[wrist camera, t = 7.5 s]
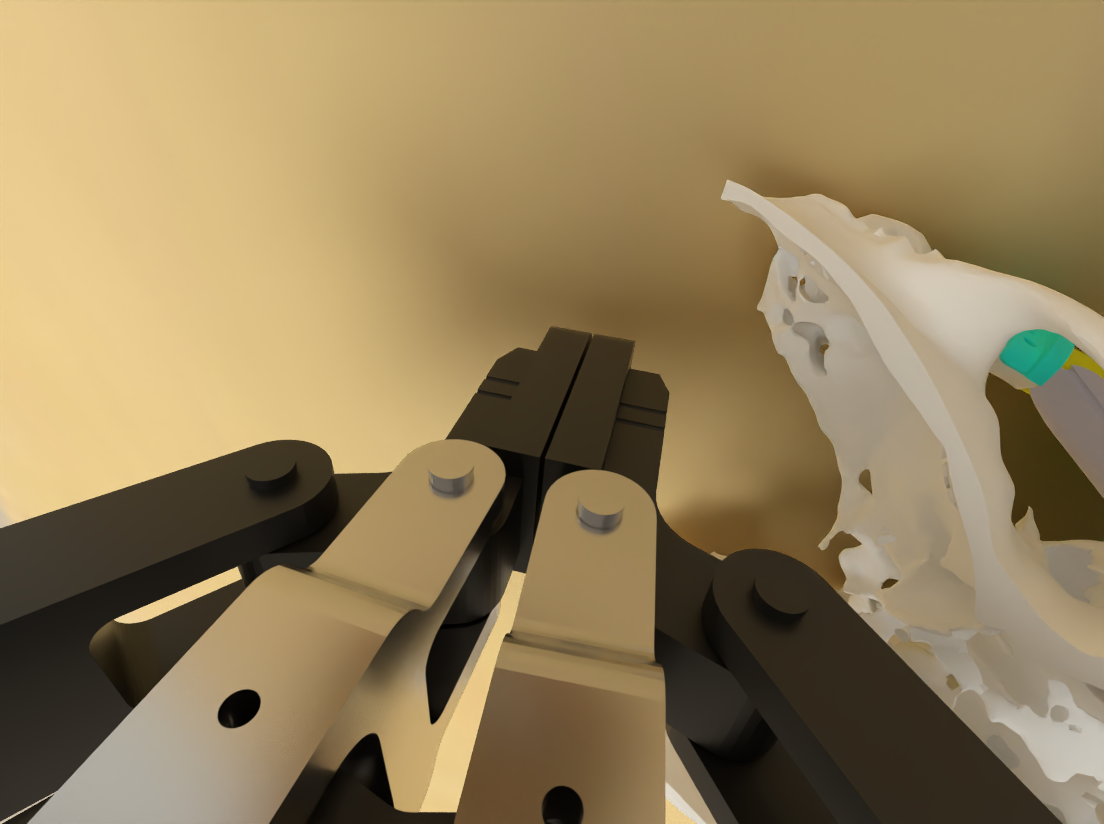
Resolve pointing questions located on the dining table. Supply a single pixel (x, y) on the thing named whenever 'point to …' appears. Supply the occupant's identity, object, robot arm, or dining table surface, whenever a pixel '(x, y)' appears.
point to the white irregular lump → (948, 480)
